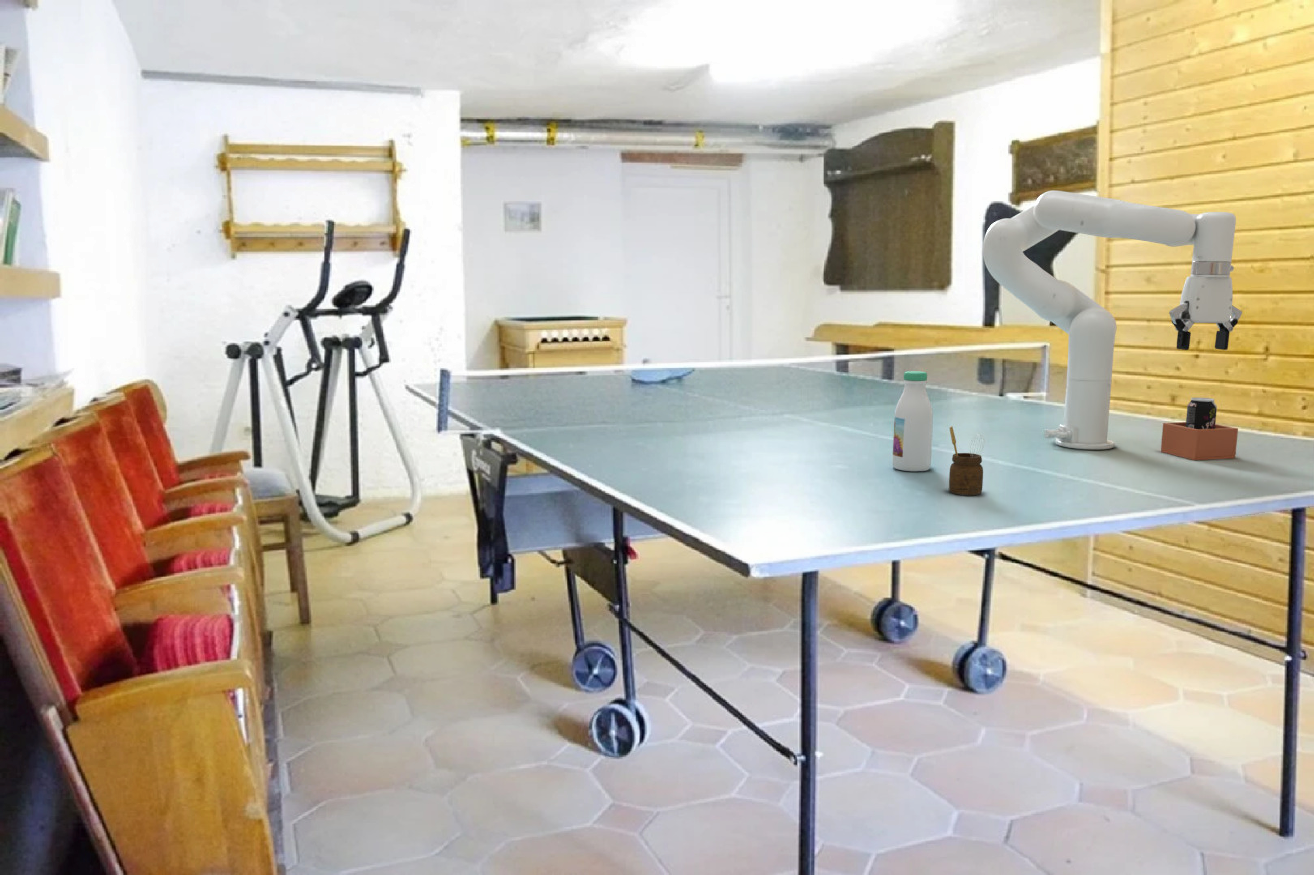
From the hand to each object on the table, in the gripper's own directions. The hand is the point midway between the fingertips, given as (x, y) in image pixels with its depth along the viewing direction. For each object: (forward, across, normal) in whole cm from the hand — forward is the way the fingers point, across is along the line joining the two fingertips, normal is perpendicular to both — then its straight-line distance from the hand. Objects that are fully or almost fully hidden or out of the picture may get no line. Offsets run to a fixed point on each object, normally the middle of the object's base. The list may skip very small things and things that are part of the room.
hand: (1201, 349), depth 222 cm
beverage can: (+23, 0, +2) cm, 23 cm away
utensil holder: (+24, +70, +27) cm, 78 cm away
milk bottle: (+24, +69, +4) cm, 73 cm away
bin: (+23, 0, +2) cm, 23 cm away
